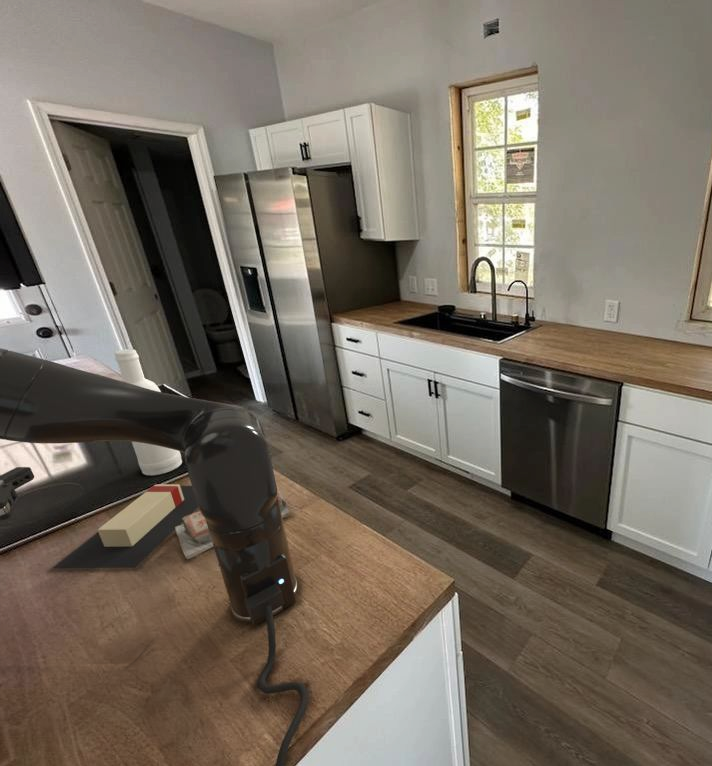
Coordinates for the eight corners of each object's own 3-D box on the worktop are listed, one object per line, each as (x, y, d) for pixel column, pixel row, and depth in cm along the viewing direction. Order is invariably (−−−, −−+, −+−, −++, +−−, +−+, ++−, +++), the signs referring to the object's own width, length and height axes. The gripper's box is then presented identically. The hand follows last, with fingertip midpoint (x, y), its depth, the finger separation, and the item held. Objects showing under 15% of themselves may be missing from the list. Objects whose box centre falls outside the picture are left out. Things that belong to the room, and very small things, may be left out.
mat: (136, 568, 72) (135, 567, 72) (52, 569, 72) (52, 568, 72) (220, 487, 95) (220, 486, 95) (157, 487, 94) (157, 486, 94)
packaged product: (271, 477, 91) (288, 497, 84) (275, 495, 93) (292, 516, 86) (169, 513, 79) (179, 540, 72) (176, 533, 81) (186, 562, 74)
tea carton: (125, 529, 75) (179, 483, 88) (96, 529, 75) (155, 484, 88) (132, 546, 77) (184, 499, 90) (104, 547, 76) (160, 499, 89)
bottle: (188, 456, 106) (155, 345, 95) (174, 473, 99) (136, 355, 88) (151, 460, 104) (113, 347, 93) (134, 478, 97) (91, 357, 86)
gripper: (-93, 533, 44) (64, 450, 60) (-226, 534, 44) (-31, 450, 60) (-59, 585, 47) (82, 492, 63) (-184, 587, 46) (-9, 493, 62)
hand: (27, 472), depth 61 cm, fingers closed
